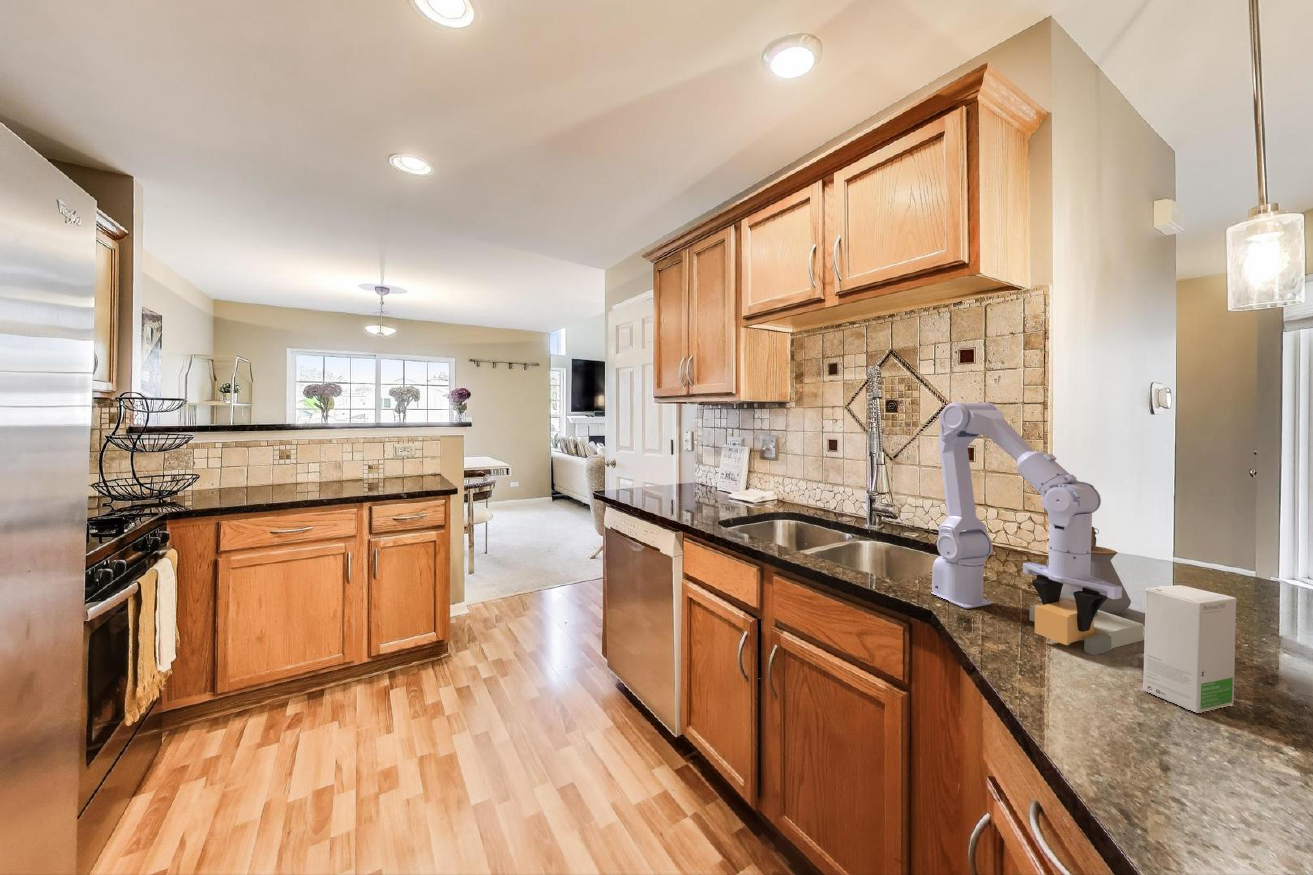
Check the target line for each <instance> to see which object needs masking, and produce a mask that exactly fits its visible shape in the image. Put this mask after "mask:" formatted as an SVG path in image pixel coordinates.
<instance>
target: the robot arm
mask: <svg viewBox="0 0 1313 875" xmlns="http://www.w3.org/2000/svg"><path fill="white" fill-rule="evenodd" d="M938 423H939V429H940V430H939V434H938V435H939V436H938V448H939V449H938V450H939V457H940V468H941V475H942V482H943V491H944V499H945V500H944V501H945V508H946V516H947V517H946V519H944V521H943V522H942V523H940V525H939V526H938V537H937V541H936V547H937V551H938V553H939V555H940V556H938V557H937V558H936V559H935V560H934V562H933V564H932V568H931V569H932V571H931V572H932V573H931V575H932V576H931V577H932V578H931V582H932V583H931V591H933V592H931V591H930V592H931V593H932V594H934V595H937V596H939V597H941V598H943V599H946V600H948V601H949V602H948V601H947V602H948V603H951V604H953V605H956V606H958V607H961V608H964V609H973V608H974V609H975V608H979V607H985V606H989V605H993V604H994V603H993V601H991V600H988V599H986V598H984V563H986V562H987V561H986V560H987V558H988V557H989V556H990V555H991V554H992V552H993V549H994V548H993V541H992V539H991V537H990V535H989V533H988V531H987V526H986V524H985V523H984V522H983V521H981V520H980V519H979V517H977V511H976V504H975V502H976V501H975V496H974V487H973V481H972V471H971V463H970V457H969V456H970V455H969V448H968V447H969V446H970V444H972V443H973V441H974V440H976V439H977V438H979V437H980V436H986V437H988V438H989V439H990V441H992V442H994V443H995V444H996V445H997V446H998V447H999V448H1001V449H1002V450H1003V451H1004V452H1005V453H1006V454H1007V455H1008V456H1010V457H1011V458H1012V459H1014V460H1015V462H1017V463H1016V472H1017V473H1019V474H1020V475H1021V476H1022V478H1024V479H1025V481H1027V482H1028V483H1029V485H1031V487H1033V488H1034V489H1035V490H1036V491H1037V492H1038V493H1039V494H1040V495H1041V496H1042V497H1041V504H1042V506H1043V508H1044V509H1045V511H1046V512H1047V521H1049V535H1048V536H1049V537H1048V538H1049V539H1048V541H1049V542H1048V565H1043V564H1040V563H1039V564H1038V563H1036V562H1035V563H1033V562H1023V563H1022V573H1023V574H1025V575H1032V576H1036V578H1035V579H1032V580H1031V585H1032V586H1033V587H1034V589H1035V590H1036V592H1037V594H1038V595H1039V596H1038V597H1039V598H1040V601H1041V603H1043V605H1046V604H1050V603H1055V602H1059V601H1060V594H1061V590H1062V587H1063V584H1067V585H1070V586H1074V587H1077V588H1081V589H1082V591H1076V592H1073V595H1074V598H1075V601H1076V606H1077V625H1078V630H1079V631H1081V632H1084V631H1088V630H1090V627H1091V624H1092V621H1093V619H1094V616H1095V614H1096V613H1097V611H1098V609H1099V608H1100V606H1101V605H1102V604H1103V603H1104V602H1105V600H1106V599H1107V598H1111V599H1119V598H1122V587H1121V586H1117V585H1114V584H1111V583H1108V582H1106V581H1103V580H1100V579H1097V578H1095V577H1092V576H1090V564H1091V532H1092V527H1093V513H1095V512H1097V510H1099V509H1100V507H1101V505H1102V504H1101V503H1102V499H1101V498H1102V497H1101V495H1100V493H1099V492H1098V490H1097V489H1096V488H1095V486H1094V485H1093V484H1091V483H1089V482H1086V481H1079V480H1078V478H1077V477H1076V476H1075V475H1074V474H1070V473H1069V472H1068V471H1067V470H1066V469H1065V468H1063V467H1062V466H1061V465H1060V463H1058V462H1057V461H1056V460H1057V456H1055V455H1053V453H1047V452H1046V451H1042V450H1041V451H1035V450H1034V449H1033V448H1032V447H1031V446H1030V445H1029V444H1028V443H1027V441H1026V440H1025V439H1024V438H1023V437H1022V436H1021V435H1020V434H1019V433H1018V432H1017V431H1016V430H1015V429H1014V428H1013V427H1012V426H1011V425H1010V424H1009V423H1008V421H1006V420H1005V416H1004V413H1003V412H1002V411H1000V410H999V409H998V408H997V407H996V406H995V405H994V404H992V403H990V402H957V401H956V402H955V401H954V402H953V401H952V402H951V403H948V404H946V406H945V407H944V408H943V410H942V411H941V412H940V413H939V414H938ZM941 598H940V599H941ZM943 599H942V600H943ZM946 600H945V601H946Z"/></svg>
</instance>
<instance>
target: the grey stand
mask: <svg viewBox="0 0 1313 875" xmlns="http://www.w3.org/2000/svg"><path fill="white" fill-rule="evenodd" d="M1063 600H1068V601H1071V602H1074V603H1076V601H1075V598H1074V596H1069V595H1060V601H1063ZM1037 605H1039V606H1042V605H1043V603H1042V602H1041V603H1036V604H1030V605H1029V621H1031V622H1034V623H1035V606H1037ZM1082 641H1084V643H1083V644H1084V645H1083V646H1084V648H1083V650H1084V651H1083V652H1084V653H1086V654H1089V655H1091V656H1096V655H1098V654H1102V653H1106V652H1111V651H1112V649H1114V648H1118V647H1122V646H1126V645H1130V644H1133V643H1138V642H1142V641H1144V623H1141V622H1137V621H1134V620H1132V619H1128V618H1124V617H1122V616H1119V615H1113V614H1109V613H1106V612H1103V611H1100V610H1098V611H1097V613H1096V614H1095V616H1094V636H1091V637H1086V638H1085V639H1083V640H1082Z"/></svg>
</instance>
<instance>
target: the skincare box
mask: <svg viewBox="0 0 1313 875" xmlns="http://www.w3.org/2000/svg"><path fill="white" fill-rule="evenodd" d="M1144 607H1145V609H1144V610H1145V612H1144V615H1145V618H1144V647H1143V648H1144V650H1143V681H1142V691H1143V692H1145V691H1146V692H1145V693H1147V692H1148V693H1147V694H1149V693H1151V694H1153V695H1155V696H1157V697H1156V698H1158V697H1160V698H1163V699H1165V700H1167V701H1169V702H1172V703H1175V704H1177V705H1179V706H1182V707H1184V708H1186V709H1188V710H1191V711H1193V712H1196V713H1200V712H1204V711H1206V710H1212V709H1214V708H1218V707H1221V706H1227V705H1230V704H1233V703H1235V702H1234V701H1235V700H1234V699H1235V698H1234V696H1235V667H1236V666H1235V663H1236V661H1235V659H1236V658H1235V657H1236V626H1237V625H1236V620H1237V597H1234V596H1231V595H1226V594H1221V593H1218V592H1217V593H1216V592H1212V591H1208V590H1203V589H1200V588H1194V587H1192V586H1187V585H1182V584H1178V585H1176V584H1175V585H1159V586H1156V587H1147V588H1145V606H1144ZM1151 694H1150V695H1151ZM1153 695H1152V696H1153ZM1155 696H1154V697H1155ZM1160 698H1159V699H1160ZM1165 700H1164V701H1165ZM1167 701H1166V702H1167ZM1169 702H1168V703H1169ZM1172 703H1171V704H1172ZM1179 706H1178V707H1179ZM1186 709H1185V710H1186ZM1188 710H1187V711H1188ZM1191 711H1190V712H1191ZM1193 712H1192V713H1193ZM1196 713H1195V714H1196ZM1204 713H1205V712H1204Z"/></svg>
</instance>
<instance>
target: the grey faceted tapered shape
mask: <svg viewBox="0 0 1313 875" xmlns="http://www.w3.org/2000/svg"><path fill="white" fill-rule="evenodd" d="M1096 530H1097V531H1098V532H1096ZM1099 530H1100V529H1098V528H1095V527H1094V526H1092V532H1091V564H1090V576H1092V577H1095V578H1097V579H1100V580H1103V581H1106V582H1108V583H1111V584H1114V585H1117V586H1121V587H1122V598H1119V599H1111V598H1107V599H1106V600H1105V602H1104V603H1103V604H1102V605H1101V606H1100V608H1099V609H1098V610H1100V611H1103V612H1106V613H1109V614H1113V615H1116V616H1118V613H1122V612H1124V611H1126V610H1127V609H1128V608H1129V607H1130V606H1131V602H1132V601H1131V599H1130V597H1129V594H1128V593H1127V591H1126V589H1125V587H1124V585H1123V582H1122V581H1121V579H1120V576H1119V575H1118V573H1117V570H1116V569H1115V567H1114V565H1113V563H1112V559H1113V558H1114V557H1115V556H1116V555H1117V554H1118V551H1116V550H1114V549H1111V548H1107V547H1101V546H1097V537H1096V535H1098V534H1099V533H1100V531H1099ZM1076 591H1082V589H1081V588H1077V587H1074V586H1070V585H1067V584H1063V587H1062V590H1061V594H1060V595H1069V596H1074V595H1073V592H1076Z"/></svg>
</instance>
